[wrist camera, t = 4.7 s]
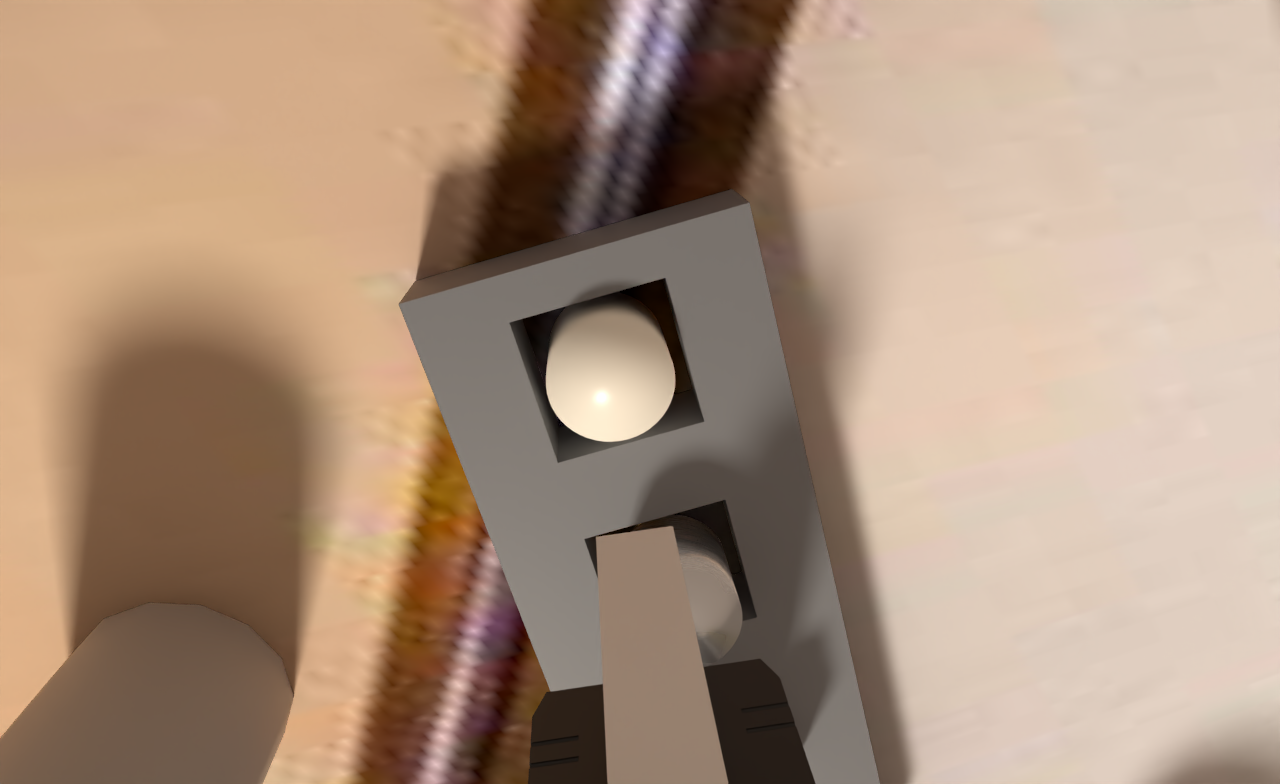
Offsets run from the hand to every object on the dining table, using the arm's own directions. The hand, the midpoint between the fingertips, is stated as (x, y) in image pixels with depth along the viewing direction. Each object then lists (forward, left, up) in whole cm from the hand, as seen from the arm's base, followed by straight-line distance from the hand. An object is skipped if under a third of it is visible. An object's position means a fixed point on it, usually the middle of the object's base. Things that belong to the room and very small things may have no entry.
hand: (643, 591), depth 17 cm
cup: (+8, -20, -15) cm, 26 cm away
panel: (+10, 0, -14) cm, 18 cm away
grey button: (+7, 0, -12) cm, 14 cm away
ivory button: (-1, 0, -14) cm, 14 cm away
